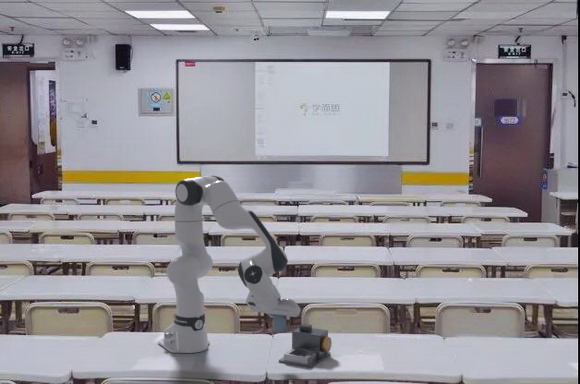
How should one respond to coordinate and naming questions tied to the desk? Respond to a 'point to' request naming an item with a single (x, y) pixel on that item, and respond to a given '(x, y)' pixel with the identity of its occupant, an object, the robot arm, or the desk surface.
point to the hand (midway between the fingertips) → (280, 317)
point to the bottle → (279, 323)
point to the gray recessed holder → (308, 346)
